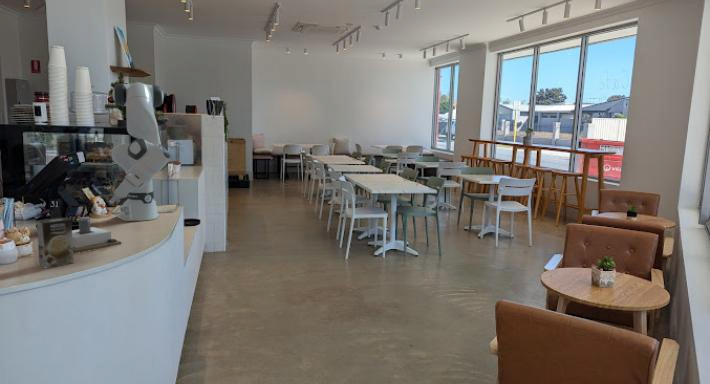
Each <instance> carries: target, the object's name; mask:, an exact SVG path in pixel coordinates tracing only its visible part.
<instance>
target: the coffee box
mask: <svg viewBox="0 0 710 384" xmlns="http://www.w3.org/2000/svg"><path fill="white" fill-rule="evenodd" d="M36 224H37V228H36V229H37V230H36V231H37V232H36V233H37V245H38V264H39V265H40V267H43V268H44V267H46V268H45V269H48V267H50V268H54V267H53V266H55V267H59V266H58V265H61V266H65V265H64V264H66V265H70V264H69V263H71V264H74V252H73V242H72V229H73V225H72V219H70V218H68V217H58V218H57V217H56V218H48V219H46V218H45V219H39V220H36Z"/></svg>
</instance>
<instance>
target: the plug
mask: <svg viewBox="0 0 710 384" xmlns="http://www.w3.org/2000/svg"><path fill="white" fill-rule="evenodd" d="M90 228H91V218H90V216H82V217H78V229H79V233H80V234H87V233H91V230H90Z"/></svg>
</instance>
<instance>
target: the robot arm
mask: <svg viewBox="0 0 710 384" xmlns="http://www.w3.org/2000/svg"><path fill="white" fill-rule="evenodd" d="M113 87H114V88H113V90H112V94H111V95H112V98H113V101H114V103H115V104H116V105H117V106H120V107H126V112H125V113H126V131H127V133H128V134H129V135H130V136H131V137H133V138H135V139H134V140H132V142H130V143H120V144H116V145H115V146H114V147H113V148H112V149H111V153H110V154H111V158H112V160H113V162H114V163H115V164H116V165H118V166H119V167H120V168H122V169H123V170H124V172H125V174H126V175H125V176H124V179H123V180H122V182H121V183H120V184H119V185H118V186H117V188H116V189H115V190H114V191H113V196H112V197H111V198H110V199H109V200H108V203H109V204H110V205H113V204H114V203H115V202H116V201H119V200H120V199H123V198H124V197H125V196H127V200H125V201H124V203H122V204H121V206H120V213H119V214H118V213H117V214H116V215H115V217H116V218H118V219H120V220H122V221H124V222H137V221H138V222H142V221H151V220H156V219H158V217H160V214H159V213H158V208H157V202H156V200H155V199H154V198H155V191H154V190H153V189H154V187H153V186H154V185H153V177H154V176H155V175H156V174H158V173H160V172H161V171H163V170H165V168H166V167H167V165H168V163H169V161H170V159H171V154H170V152H169V151H168V149H167V148H166V147H165V146H164V145H163V141H162V135H161V131H160V128H159V125H158V121H157V119H156V115H155V110H154V108H158V107H160V106H161V105H162V104H163V102H164V98H165V97H164V93H163V90H162V87H161V86H159V85H156V84H145V83H144V82H140V81H139V82H132V83H117V84H116V85H114V86H113Z"/></svg>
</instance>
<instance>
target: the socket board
mask: <svg viewBox="0 0 710 384" xmlns="http://www.w3.org/2000/svg"><path fill="white" fill-rule="evenodd" d="M119 245H122V241H120V240H117V239H116V238H111V239H108V242H104V243H99V244H94V245H89V246H84V247H79V248H75V247H73V254H74V253H75V254H79V252H80V253H84V251H85V252H89V250H90V251H93V250H94V249H95V250H99V248H100V249H104V248H108V247H114V246H119Z"/></svg>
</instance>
